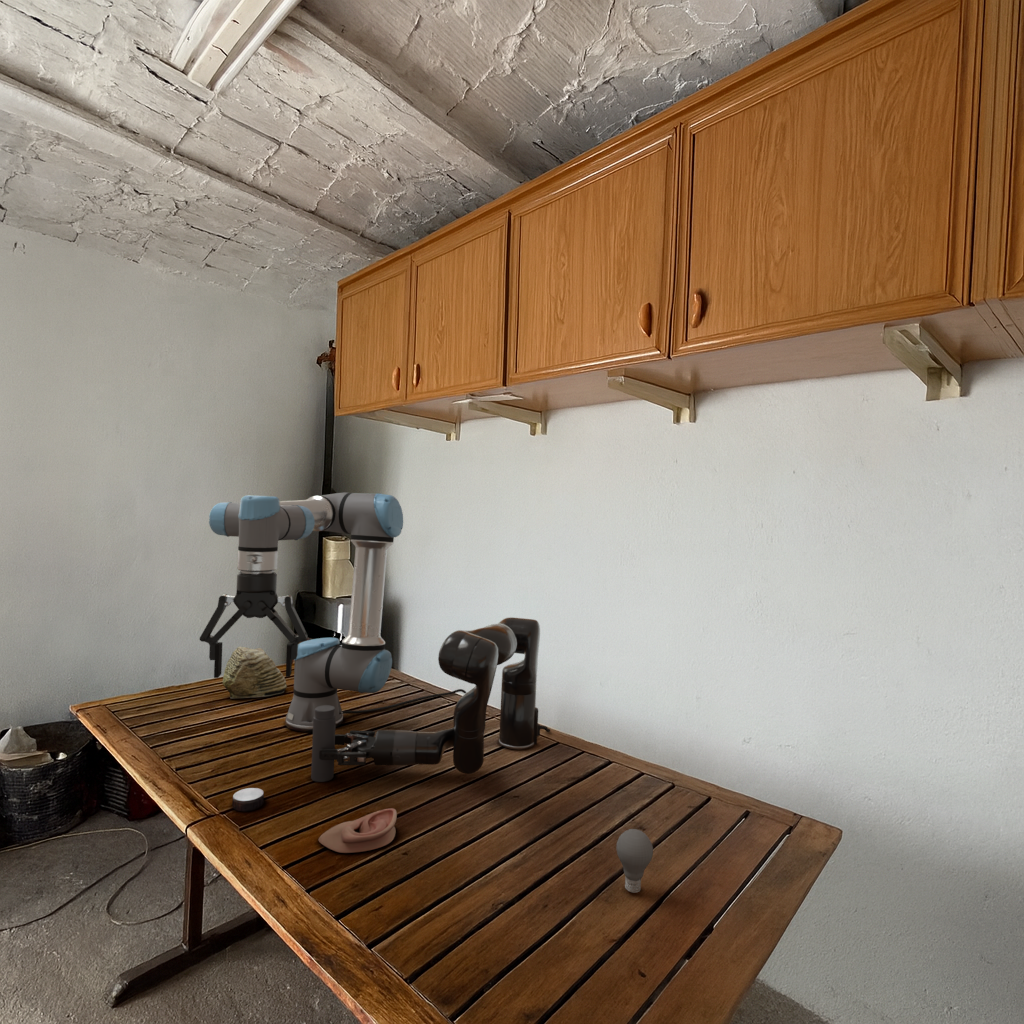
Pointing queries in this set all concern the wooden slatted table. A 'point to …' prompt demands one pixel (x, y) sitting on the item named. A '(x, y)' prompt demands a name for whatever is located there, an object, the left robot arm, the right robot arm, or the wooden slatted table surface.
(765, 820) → the wooden slatted table surface
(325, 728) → the dark grey cylinder
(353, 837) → the anatomical model
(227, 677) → the fossil
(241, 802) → the lid
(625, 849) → the light bulb
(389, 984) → the wooden slatted table surface
